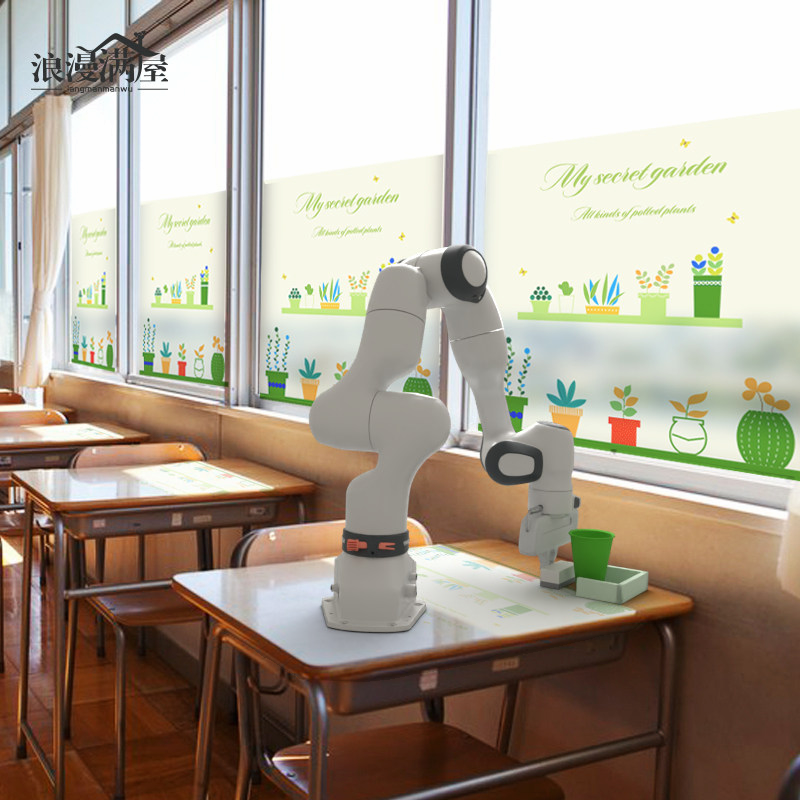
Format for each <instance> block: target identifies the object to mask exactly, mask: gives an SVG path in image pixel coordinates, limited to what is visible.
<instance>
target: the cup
mask: <svg viewBox="0 0 800 800" xmlns="http://www.w3.org/2000/svg"><path fill="white" fill-rule="evenodd" d="M569 535H570V537H571V542H570V545H571V553H572V562H573V564H574V572H575V586H576V587H577V578H578V577H582V578H588V579H593V580H599V581H604V580H605V576H606V571H607V566H608V565H609V560H610V556H611V550H612V546H613V541H614V538H615V537H616V533H614V532H611V531H608V530H603V529H596V528H577V529H574V530H571V531H569Z"/></svg>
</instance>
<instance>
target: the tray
mask: <svg viewBox="0 0 800 800" xmlns="http://www.w3.org/2000/svg"><path fill="white" fill-rule="evenodd" d="M648 587H649V571H645V570H640V569H633V568H628V567H627V568H626V567H622V566H621V567H620V566H614V565H609V564H608V566H607V571H606V576H605V580H604V581H599V580H593V579H588V578H582V577H578V578H577V586H576V592H575V593H576V594H575V597H578V598H579V597H580V598H583V599H584V598H585V599H590V600H597V601H600V602H601V601H603V602H606V603H607V602H608V603H611V604H617V605H623V604H624V603H626V602H628V601H629V600H631V599H633V598H634V597H636V596H638V595H640V594H642V593H643V592H646V591H647V590H648Z"/></svg>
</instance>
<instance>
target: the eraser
mask: <svg viewBox="0 0 800 800" xmlns="http://www.w3.org/2000/svg"><path fill="white" fill-rule="evenodd" d="M539 578H540V579H539V580H540V582H539V586H540V587H545V588H551V589H556V590H560V589H562V588H564V587H567V586H569V585H571V584H573V583H576V581H575V572H574V564H573V561H566V560H561V559H560V560H558V561H554V563H553V564H550V565H548V566H545V567H543V568H541V570H540V577H539Z"/></svg>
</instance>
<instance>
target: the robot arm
mask: <svg viewBox="0 0 800 800" xmlns="http://www.w3.org/2000/svg"><path fill="white" fill-rule="evenodd" d="M488 280H489V271H488V266H487V262H486V260H485V258H484V256H483V255H482V254H481V252H480V251H479V250H478V249H477V248H476V247H474V246H473V245H471V244H466V243H465V244H464V243H459V244H452V245H449V246H448V247H442V248H437V249H433V250H425V251H423V252H419V253H417V254H415V255H413V256H410V257H408V258H403V259H400V260H399V261H398V262H396V263H393V264H389V265H387V266H385V267H383V268H382V269H381V270H380V271H379V273H378V275H377V277H376V280H375V282H374V285H373V287H372V290H371V292H370V296H369V300H368V303H367V304H368V305H367V309H366V313H365V314H366V315H365V319H364V323H363V324H364V325H363V330H362V333H361V334H362V335H361V338H360V342H359V346H358V351H357V353H356V356H355V359H354V361H353V363H352V364H351V365H350V367H349V368H348V370H347V371H346V372H345V374H344V375H343V376H342V377H341V378H340V379H339V380H338V381H337V382H336V383H335V384H333V385H332V386H330V387H329V388H328V389H326V390H325V391H322V392H321V393H319V395H318V396H316V398H315V399H314V401H313V403H312V404H311V406H310V409H309V414H308V423H309V430H310V433H311V434H312V437H313V438H314V439H315V441H316V442H317V443H318V444H320V445H324V446H326V447H330V448H333V449H338V450H341V451H354V452H365V453H367V452H369V453H377V454H378V459H377V463H376V466H375V468H372V469H369V470H367V471H366V472H363V473H361V474H359V475H357V476H356V477H355V478H353V479H352V480H351V481H350V482H349V484H348V486H347V489H346V492H345V522H344V523H345V524H344V525H345V526H344V527H343V529H342V535H341V550H342V552H341V553H340V554H339V555H337V556H336V557H335V558H334V565H333V567H334V568H333V569H334V570H333V571H334V572H333V583H331V585H330V591H331V592H333V595H332V596H325V597H323V598H322V599H321V603H320V604H321V609H322V612H323V615H324V619H325V623H326V626H327V627H328V628H333V629H336V630H344V631H349V632H350V631H352V632H365V633H369V632H370V633H396V632H404V631H409V630H411V628H412V627H413V626H414V625H415V623H417V621H418V620H419V619H420V617H421V616H422V615H423V613H424V612H425V611H426V610H427V602H426V601H422V600H420V599H417V594H418V591H417V589H418V588H417V587H418V586H417V580H418V573H417V562H416V561H415V559H413V558H412V557H411V555H410V554H409V552H408V551H409V550H410V539H411V538H410V531H409V529H408V511H409V501H410V493H411V486H412V483H413V482H414V479H415V476H416V474H417V473H418V471H419V470H420V468H421V467H422V466H423V465H424V463H425V462H426V461H427V460H428V459H429V458H430V457H431V456H433V455H434V454H436V453H437V452H439V450H441V449H442V448H443V446H445V444H446V442H447V441H448V439H449V436H450V434H451V433H450V432H451V427H452V426H451V425H452V421H451V420H452V419H451V416H450V413H449V410H448V408H447V406H446V405H445V403H444V402H443V401H442V400H441V399H440V398H437V397H434V396H430V395H427V394H422V393H419V392H410V391H409V392H405V391H393V390H392V391H390V390H389V391H387V389H388V388H389V387H390V386H391V385H393V383H395V382H396V381H397V380H400V379H402V378H405V377H407V376H408V375H410V374H412V372H414V370H415V369H416V368H417V366H419V363H420V361H421V355H422V348H423V341H424V335H425V329H426V328H425V327H426V320H427V314H428V313H427V311H428V310H432V309H436V308H437V309H440V310H441V311H442V313H443V314H444V315H445V316H444V317H445V324H446V325H445V326H446V328H447V329H446V331H447V335H448V340H449V343H450V348H451V350H452V354H453V357H454V359H455V362H456V364H457V367H458V369H459V371H460V373H461V375H462V376H463V378H464V379H465V381H466V383H467V384H468V386H469V388H470V389H471V392H472V394H473V397H474V401H475V405H476V409H477V413H478V418H479V422H480V425H481V431H482V436H481V437H482V438H481V442H480V443H481V444H480V448H479V461H480V464H481V466H482V468H483V470H484V471H485V472H486V474H487V475H488V476H489V478H490V479H491V480H492V481H493V482H495V483H496V484H499V486H500V485H501V486H506V487H511V486H517V485H524V484H528V488H527V491H528V492H527V493H528V494H527V511H528V512H527V513H526V515H525V516H524V517H523V518H522V519H521V523H520V528H519V529H520V530H519V538H518V551H519V553H520V554H521V555H523V556H529V557H536V556H537V557H538V561H539V570H540V571H541V568H543V567H545V566H548V565H550V564H553V563H555V562H556V558H557V556H558V552H559V547H562V546H564V545H567V544H569V543H571V537H570V535H569V531H571V530H574V529H578V526H579V525H578V524H579V509H580V508H581V505H582V499H581V496H578V495H576V494H574V491H573V490H574V486H573V485H574V484H573V482H572V481H573V480H572V477H573V471H574V467H575V442H574V441H575V440H574V436H573V433H572V431H570V429H569V428H568V427H566V426H565V425H563V424H559V423H556V422H552V421H548V420H547V421H546V420H538V421H536V422H535V423H533V424H532V425H530V426H529V427H527V428H525V429H523V430H520V431H516V430H515V428H514V426H513V423H512V419H511V416H510V411H509V406H508V402H507V398H506V393H505V387H504V386H505V385H504V384H505V383H504V382H505V374H506V369H507V368H508V367H507V366H508V364H509V352H508V343H507V336H506V332H505V331H506V330H505V328H504V323H503V321H502V317H501V313H500V311H499V308H498V305H497V302H496V300H495V298H494V295H493V293H492V291H491V289H490V287H489V285H488Z"/></svg>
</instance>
